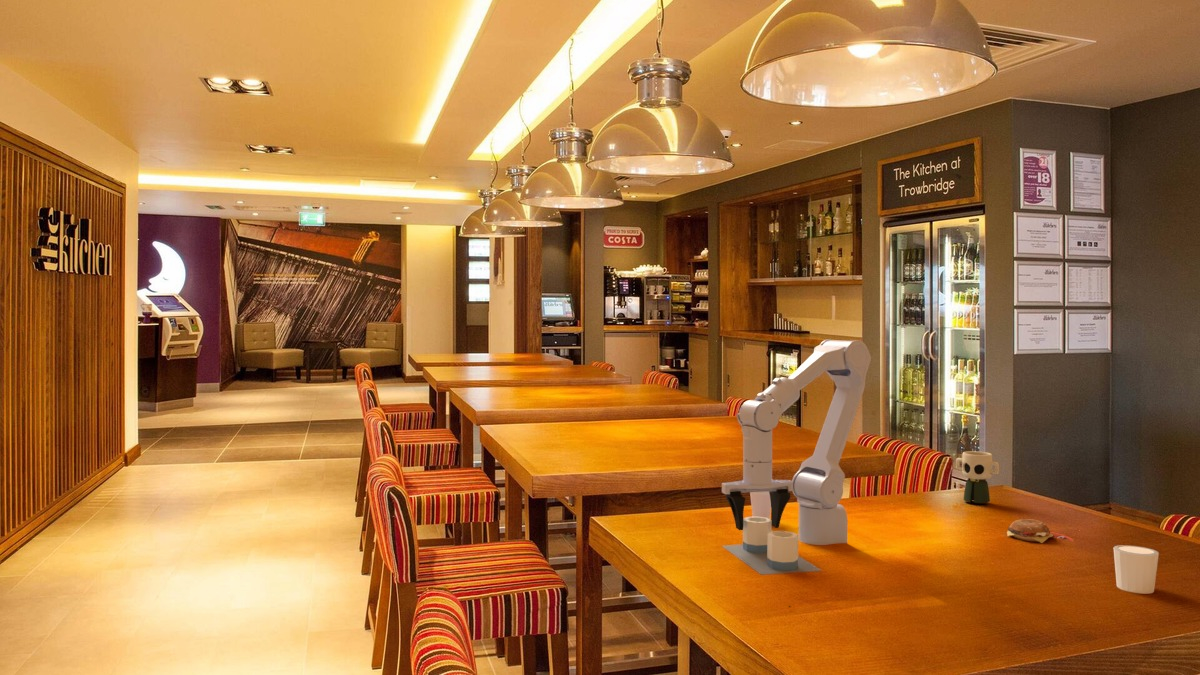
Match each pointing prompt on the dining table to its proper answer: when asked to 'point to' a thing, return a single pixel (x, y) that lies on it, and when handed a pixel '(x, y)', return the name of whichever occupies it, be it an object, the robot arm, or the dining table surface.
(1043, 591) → the dining table surface
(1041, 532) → the hamburger
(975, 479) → the character mug
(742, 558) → the pin board
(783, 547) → the seated sleeve
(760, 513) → the smoothie
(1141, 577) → the white cup
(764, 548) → the sleeve
